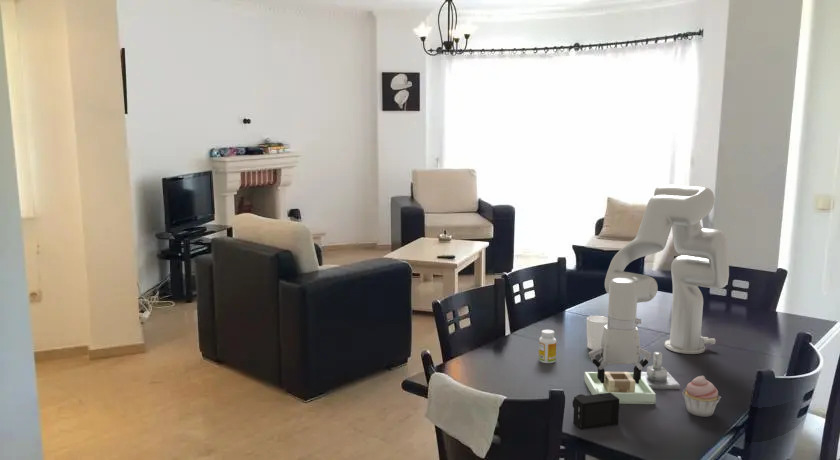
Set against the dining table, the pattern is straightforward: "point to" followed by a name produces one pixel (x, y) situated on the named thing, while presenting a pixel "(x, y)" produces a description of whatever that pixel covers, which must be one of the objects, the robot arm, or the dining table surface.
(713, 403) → the cupcake
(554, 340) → the supplement bottle
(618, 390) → the wooden square frame
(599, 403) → the digital camera
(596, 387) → the tray
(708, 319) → the dining table surface
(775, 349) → the dining table surface
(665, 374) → the grey stand
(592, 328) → the white cup
